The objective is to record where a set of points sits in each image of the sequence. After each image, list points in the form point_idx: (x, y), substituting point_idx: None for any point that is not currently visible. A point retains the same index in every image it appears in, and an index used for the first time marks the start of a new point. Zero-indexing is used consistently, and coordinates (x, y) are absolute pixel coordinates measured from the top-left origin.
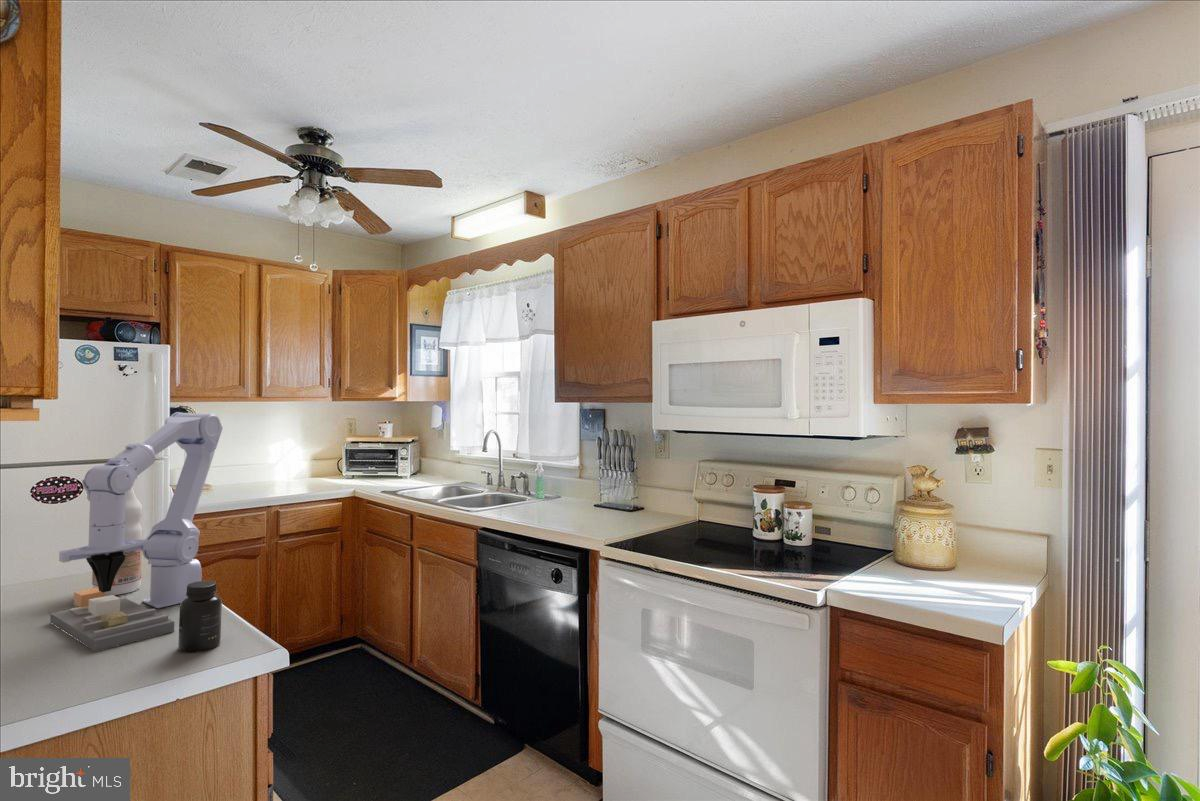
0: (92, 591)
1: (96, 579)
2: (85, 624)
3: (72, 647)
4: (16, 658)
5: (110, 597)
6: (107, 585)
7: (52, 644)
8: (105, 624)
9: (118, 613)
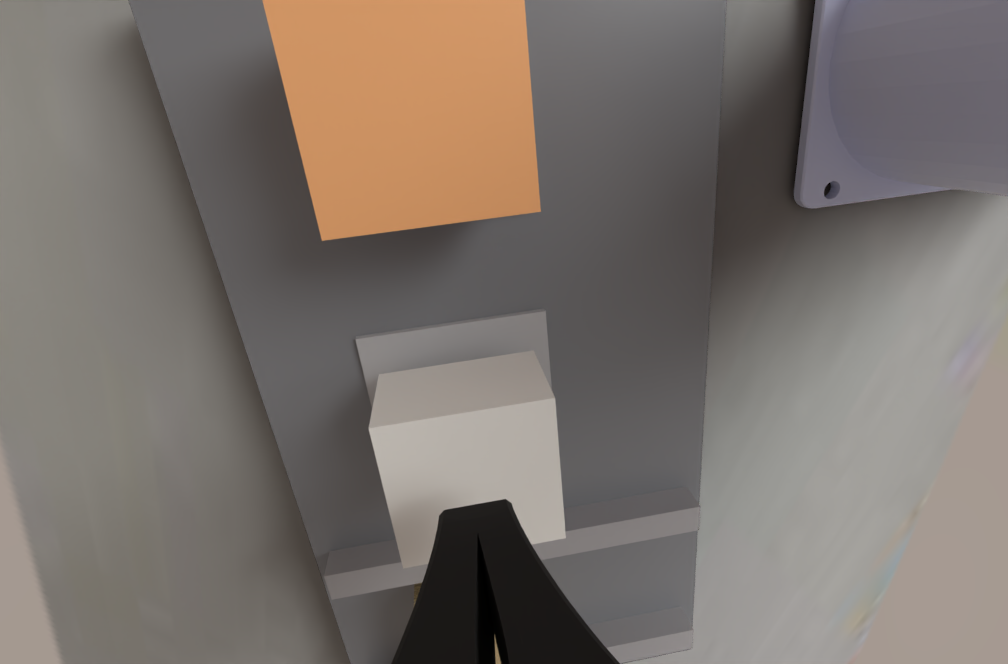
0: (438, 133)
1: (414, 607)
2: (340, 584)
3: (297, 576)
4: (69, 585)
5: (520, 469)
6: (497, 644)
7: (211, 488)
8: None
9: (496, 660)
